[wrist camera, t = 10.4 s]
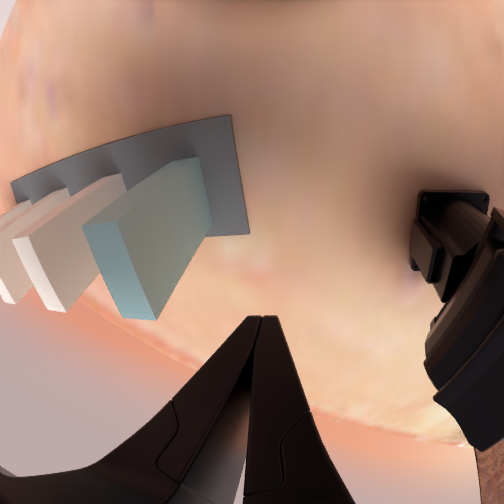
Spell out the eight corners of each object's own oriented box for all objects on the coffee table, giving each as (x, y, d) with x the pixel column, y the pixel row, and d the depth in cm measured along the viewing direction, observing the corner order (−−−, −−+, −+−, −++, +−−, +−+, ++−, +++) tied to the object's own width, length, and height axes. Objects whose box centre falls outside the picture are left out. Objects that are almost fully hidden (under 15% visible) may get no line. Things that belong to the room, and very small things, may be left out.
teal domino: (198, 156, 18) (116, 221, 10) (212, 223, 21) (156, 320, 12) (172, 161, 19) (81, 226, 10) (187, 225, 21) (122, 317, 13)
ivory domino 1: (67, 187, 21) (-16, 244, 13) (84, 236, 24) (15, 304, 15) (54, 191, 21) (-24, 246, 13) (71, 238, 24) (4, 302, 16)
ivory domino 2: (121, 172, 20) (28, 236, 11) (139, 230, 22) (66, 312, 14) (102, 177, 20) (11, 239, 12) (120, 232, 23) (47, 309, 14)
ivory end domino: (30, 199, 22) (-40, 249, 14) (46, 241, 25) (-15, 298, 16) (21, 202, 23) (-45, 250, 14) (37, 242, 25) (-22, 296, 17)
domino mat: (230, 114, 17) (229, 115, 17) (249, 232, 21) (249, 234, 21) (12, 182, 22) (10, 183, 22) (37, 249, 26) (36, 250, 26)
